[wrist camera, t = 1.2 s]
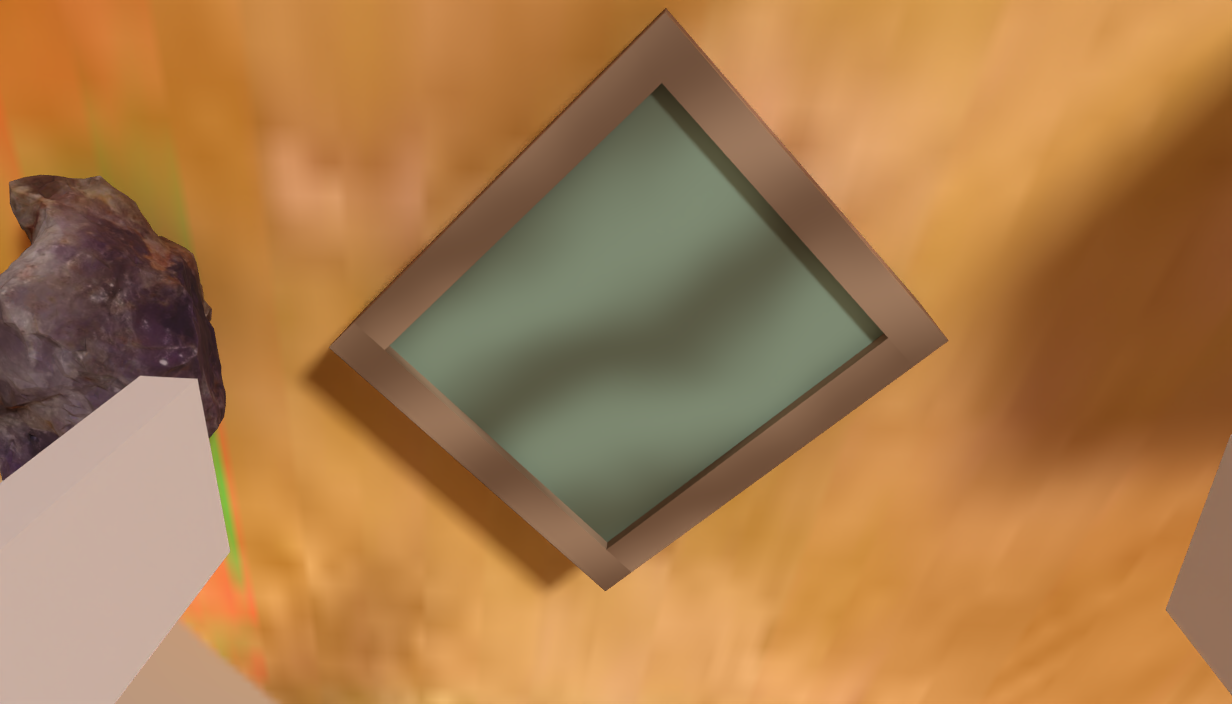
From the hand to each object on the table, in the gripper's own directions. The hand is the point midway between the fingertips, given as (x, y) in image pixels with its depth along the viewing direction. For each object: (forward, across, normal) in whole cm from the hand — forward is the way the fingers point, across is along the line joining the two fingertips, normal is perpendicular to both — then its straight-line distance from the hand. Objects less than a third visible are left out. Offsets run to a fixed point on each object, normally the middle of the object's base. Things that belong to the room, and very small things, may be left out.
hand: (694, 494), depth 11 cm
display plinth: (+23, -1, -6) cm, 24 cm away
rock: (+23, -21, -8) cm, 32 cm away
